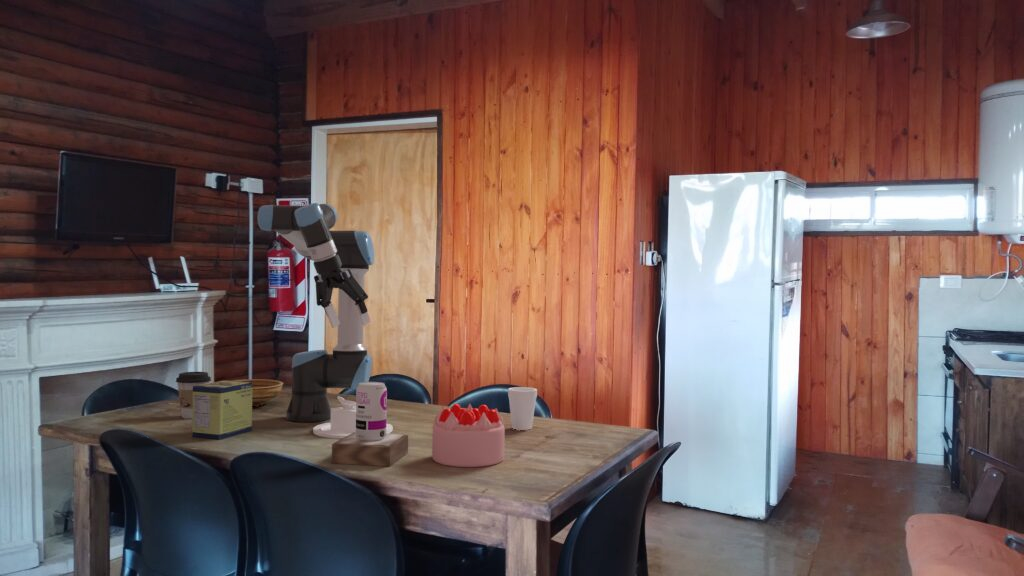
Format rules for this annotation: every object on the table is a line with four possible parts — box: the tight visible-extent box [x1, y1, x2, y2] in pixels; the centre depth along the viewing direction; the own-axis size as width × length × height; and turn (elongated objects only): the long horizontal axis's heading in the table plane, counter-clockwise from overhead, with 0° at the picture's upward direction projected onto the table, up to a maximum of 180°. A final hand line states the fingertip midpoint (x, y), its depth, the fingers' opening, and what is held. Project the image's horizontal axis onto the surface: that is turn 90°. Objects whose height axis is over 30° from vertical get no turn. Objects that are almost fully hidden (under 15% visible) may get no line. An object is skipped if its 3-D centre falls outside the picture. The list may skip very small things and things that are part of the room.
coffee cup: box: [175, 371, 212, 420], centre depth 269 cm, size 11×11×15 cm
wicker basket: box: [232, 378, 284, 407], centre depth 296 cm, size 30×24×8 cm
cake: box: [431, 403, 506, 468], centre depth 215 cm, size 20×20×14 cm
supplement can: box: [355, 381, 388, 441], centre depth 214 cm, size 8×8×15 cm
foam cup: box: [507, 386, 538, 431], centre depth 258 cm, size 10×9×13 cm
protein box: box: [191, 379, 253, 440], centre depth 243 cm, size 10×16×16 cm
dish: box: [312, 395, 394, 440], centre depth 250 cm, size 25×25×11 cm
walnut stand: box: [331, 432, 409, 467], centre depth 214 cm, size 16×16×5 cm
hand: (351, 324), depth 230 cm, fingers open, 13 cm apart
